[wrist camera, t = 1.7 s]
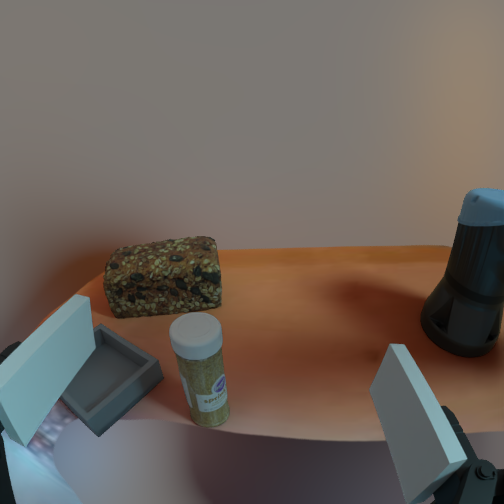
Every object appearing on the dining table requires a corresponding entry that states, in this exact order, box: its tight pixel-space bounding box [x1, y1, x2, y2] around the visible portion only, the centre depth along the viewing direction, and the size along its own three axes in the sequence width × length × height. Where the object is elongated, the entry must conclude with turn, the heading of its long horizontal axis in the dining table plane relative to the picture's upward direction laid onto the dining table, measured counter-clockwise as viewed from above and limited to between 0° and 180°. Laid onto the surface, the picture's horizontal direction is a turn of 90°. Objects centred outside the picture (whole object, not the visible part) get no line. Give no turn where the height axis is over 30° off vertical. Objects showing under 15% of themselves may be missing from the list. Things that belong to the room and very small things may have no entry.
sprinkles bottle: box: [169, 312, 230, 427], centre depth 29 cm, size 5×5×13 cm
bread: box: [103, 236, 222, 319], centre depth 50 cm, size 19×11×10 cm, turn 101°
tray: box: [59, 324, 164, 437], centre depth 33 cm, size 12×12×4 cm
